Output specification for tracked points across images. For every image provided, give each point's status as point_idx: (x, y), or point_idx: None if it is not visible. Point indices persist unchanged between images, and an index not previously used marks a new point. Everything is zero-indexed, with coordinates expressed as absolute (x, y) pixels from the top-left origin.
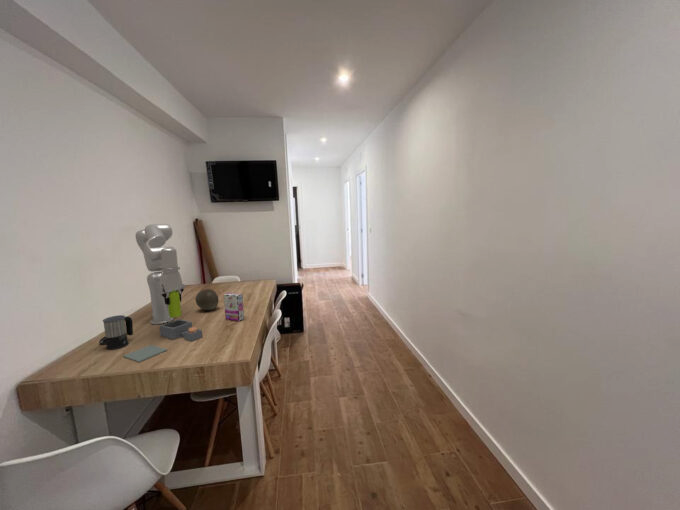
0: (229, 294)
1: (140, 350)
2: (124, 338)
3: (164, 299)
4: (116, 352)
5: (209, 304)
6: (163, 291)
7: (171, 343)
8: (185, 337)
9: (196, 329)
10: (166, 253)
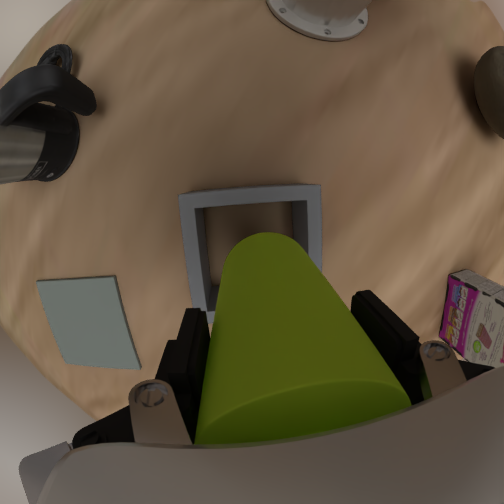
0: None
1: (75, 293)
2: (42, 173)
3: (157, 371)
4: (31, 215)
5: (502, 130)
6: (132, 456)
7: (176, 325)
8: None
9: None
10: None
